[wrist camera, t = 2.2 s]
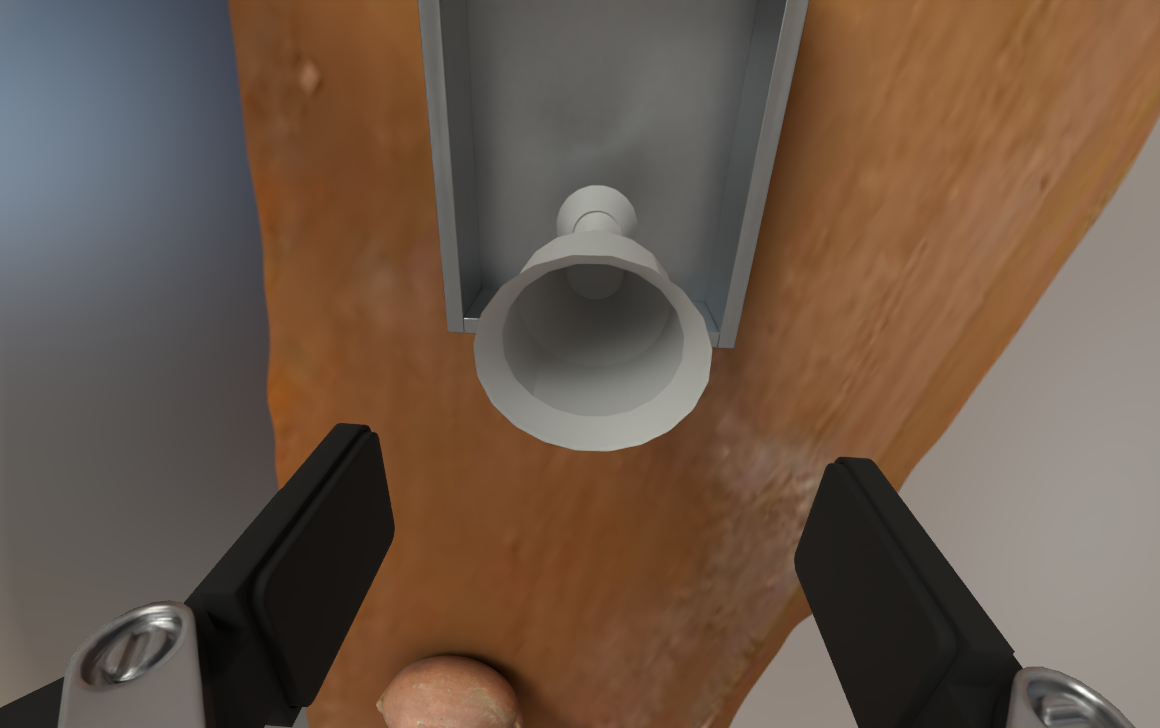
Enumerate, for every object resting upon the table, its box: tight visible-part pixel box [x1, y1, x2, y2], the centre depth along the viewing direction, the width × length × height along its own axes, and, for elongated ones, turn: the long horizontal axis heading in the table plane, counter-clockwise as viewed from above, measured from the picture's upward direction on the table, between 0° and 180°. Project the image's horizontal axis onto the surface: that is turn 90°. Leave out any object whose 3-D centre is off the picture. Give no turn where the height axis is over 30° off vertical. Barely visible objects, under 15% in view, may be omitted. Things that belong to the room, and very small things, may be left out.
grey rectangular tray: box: [418, 0, 810, 349], centre depth 27 cm, size 17×20×5 cm
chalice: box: [473, 185, 712, 451], centre depth 23 cm, size 7×7×18 cm
